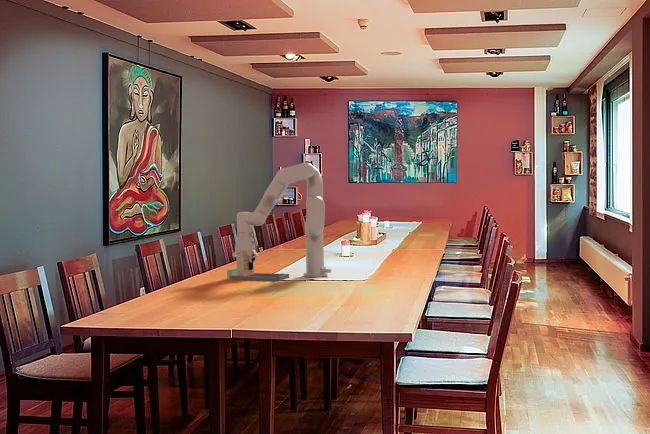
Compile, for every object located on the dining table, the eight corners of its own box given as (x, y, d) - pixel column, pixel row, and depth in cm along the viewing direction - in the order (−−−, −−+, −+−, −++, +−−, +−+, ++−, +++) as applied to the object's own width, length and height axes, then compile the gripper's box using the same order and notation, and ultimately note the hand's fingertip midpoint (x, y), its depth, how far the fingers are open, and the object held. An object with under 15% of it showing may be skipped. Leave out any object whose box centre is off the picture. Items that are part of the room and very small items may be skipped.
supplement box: (244, 277, 406) (242, 252, 404) (237, 276, 409) (235, 252, 407) (254, 274, 412) (252, 250, 411) (247, 274, 415) (246, 249, 414)
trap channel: (289, 277, 408) (288, 268, 408) (278, 281, 396) (278, 271, 396) (239, 276, 419) (238, 266, 419) (227, 279, 407) (227, 270, 407)
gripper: (262, 234, 409) (263, 269, 410) (233, 234, 416) (234, 268, 417) (255, 236, 402) (256, 271, 403) (226, 235, 409) (227, 270, 410)
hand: (245, 269), depth 410 cm, fingers closed on supplement box, 5 cm apart
